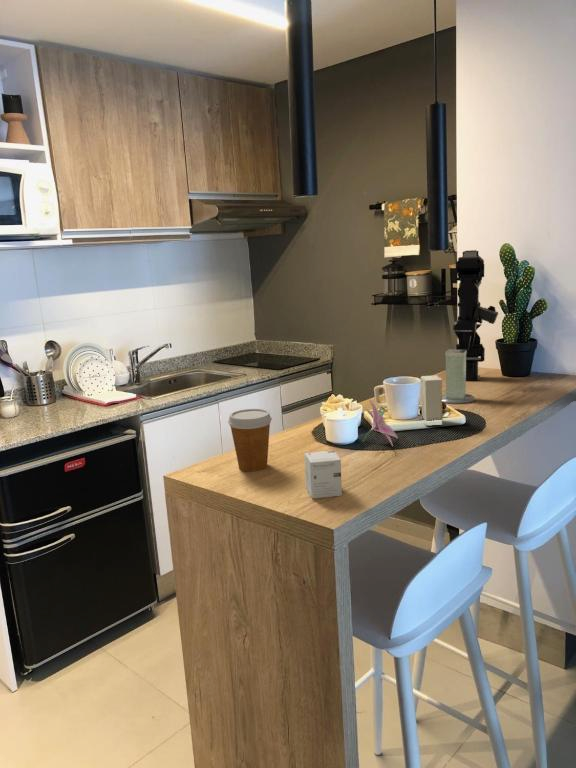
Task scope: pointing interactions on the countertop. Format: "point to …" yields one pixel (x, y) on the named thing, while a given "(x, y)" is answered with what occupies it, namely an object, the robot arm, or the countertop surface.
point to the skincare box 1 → (323, 474)
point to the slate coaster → (467, 399)
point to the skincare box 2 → (431, 397)
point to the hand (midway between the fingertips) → (468, 350)
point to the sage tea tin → (455, 374)
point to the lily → (380, 424)
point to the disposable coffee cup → (251, 437)
